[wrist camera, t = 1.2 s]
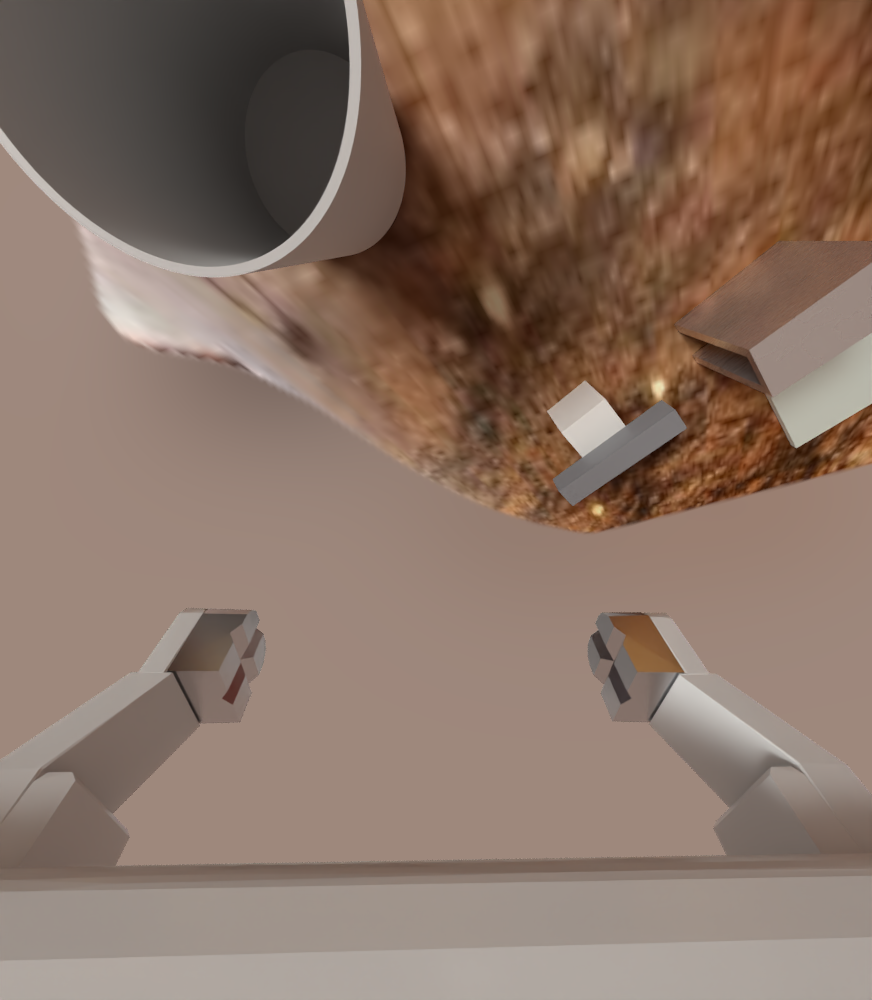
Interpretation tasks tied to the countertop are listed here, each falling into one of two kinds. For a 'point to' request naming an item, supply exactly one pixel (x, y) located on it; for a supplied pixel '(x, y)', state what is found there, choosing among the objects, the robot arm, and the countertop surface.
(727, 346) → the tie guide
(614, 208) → the countertop surface
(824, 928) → the robot arm
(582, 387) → the off-white cardboard box
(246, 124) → the cylinder vase
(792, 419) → the sage mat
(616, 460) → the bar
